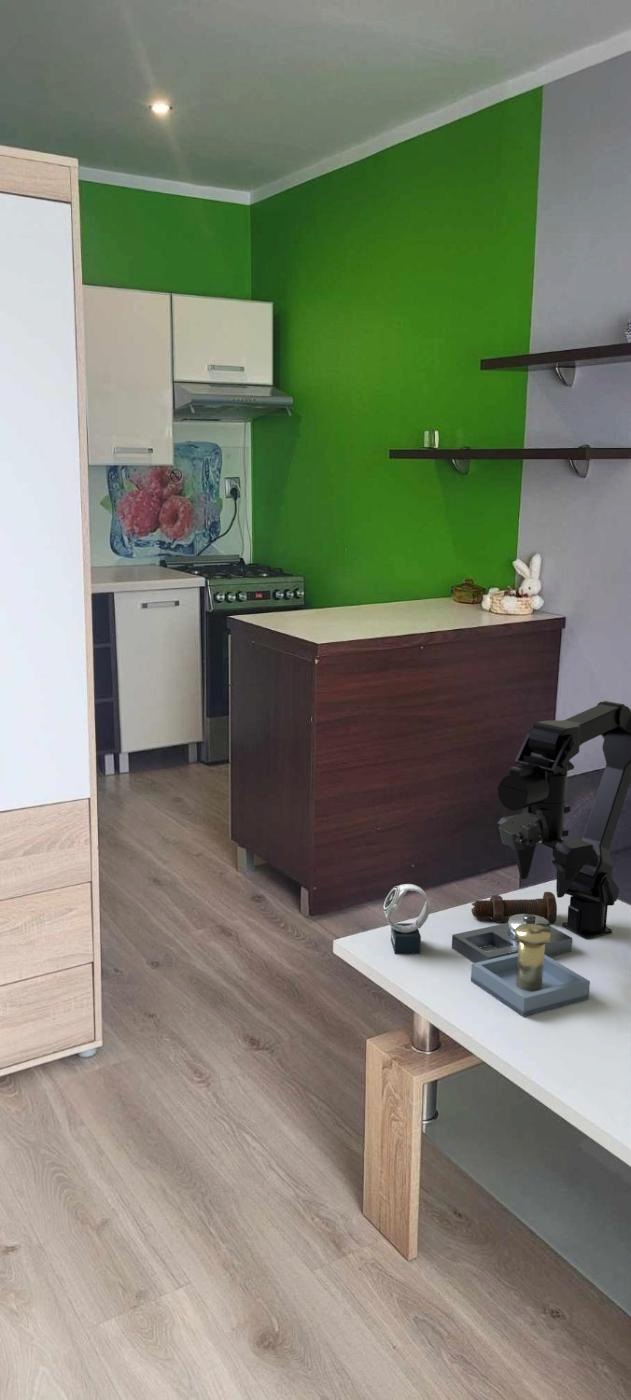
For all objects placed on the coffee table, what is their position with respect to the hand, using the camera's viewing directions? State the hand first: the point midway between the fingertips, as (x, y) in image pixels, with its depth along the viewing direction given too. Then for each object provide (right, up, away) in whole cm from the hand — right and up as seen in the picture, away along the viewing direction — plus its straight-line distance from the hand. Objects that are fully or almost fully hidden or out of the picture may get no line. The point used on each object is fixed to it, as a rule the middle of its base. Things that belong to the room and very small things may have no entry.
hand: (541, 887), depth 179 cm
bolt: (-2, -9, +17) cm, 19 cm away
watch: (-23, -11, +4) cm, 26 cm away
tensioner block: (-4, -11, +4) cm, 13 cm away
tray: (-4, -14, -11) cm, 18 cm away
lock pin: (-4, -13, -11) cm, 18 cm away
